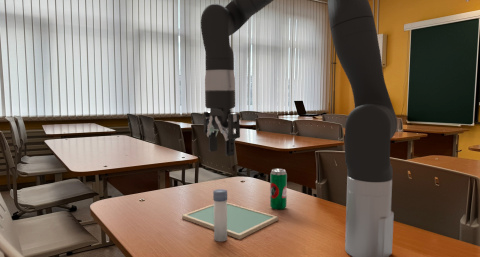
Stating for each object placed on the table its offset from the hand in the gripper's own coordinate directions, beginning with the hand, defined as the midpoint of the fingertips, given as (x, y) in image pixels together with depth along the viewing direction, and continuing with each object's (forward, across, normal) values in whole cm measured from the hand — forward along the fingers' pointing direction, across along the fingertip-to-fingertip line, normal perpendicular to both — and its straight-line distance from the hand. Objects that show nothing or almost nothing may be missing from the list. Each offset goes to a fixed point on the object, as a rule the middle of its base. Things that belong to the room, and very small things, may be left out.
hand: (221, 153), depth 87 cm
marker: (+20, -4, +3) cm, 21 cm away
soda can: (+21, +6, -24) cm, 32 cm away
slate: (+20, +6, -6) cm, 22 cm away
